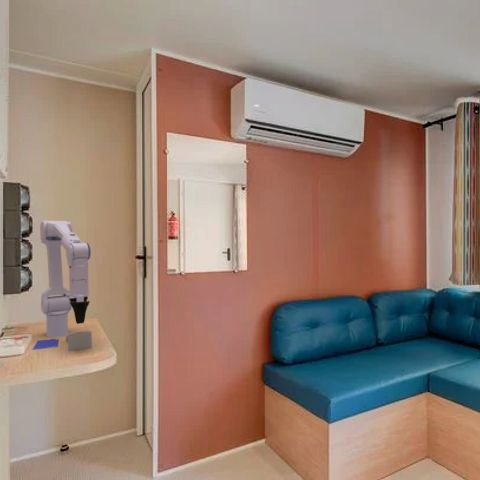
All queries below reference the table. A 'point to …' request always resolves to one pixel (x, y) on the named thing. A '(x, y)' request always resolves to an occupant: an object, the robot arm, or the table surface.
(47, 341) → the hard drive
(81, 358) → the table surface
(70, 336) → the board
